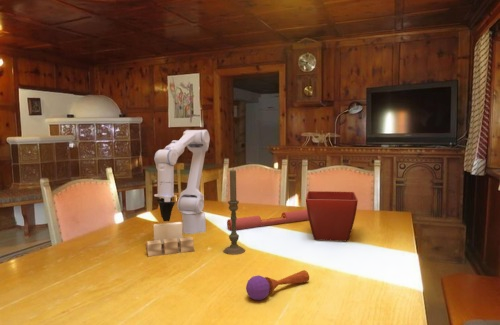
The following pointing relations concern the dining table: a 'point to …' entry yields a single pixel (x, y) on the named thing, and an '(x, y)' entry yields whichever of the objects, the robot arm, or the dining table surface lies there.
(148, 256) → the rack
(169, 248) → the block
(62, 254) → the dining table surface
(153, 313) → the dining table surface
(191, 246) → the offcut
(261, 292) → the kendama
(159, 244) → the offcut
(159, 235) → the cream rectangular block
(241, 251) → the candlestick holder
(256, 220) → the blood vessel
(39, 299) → the dining table surface
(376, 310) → the dining table surface
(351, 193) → the plant pot
